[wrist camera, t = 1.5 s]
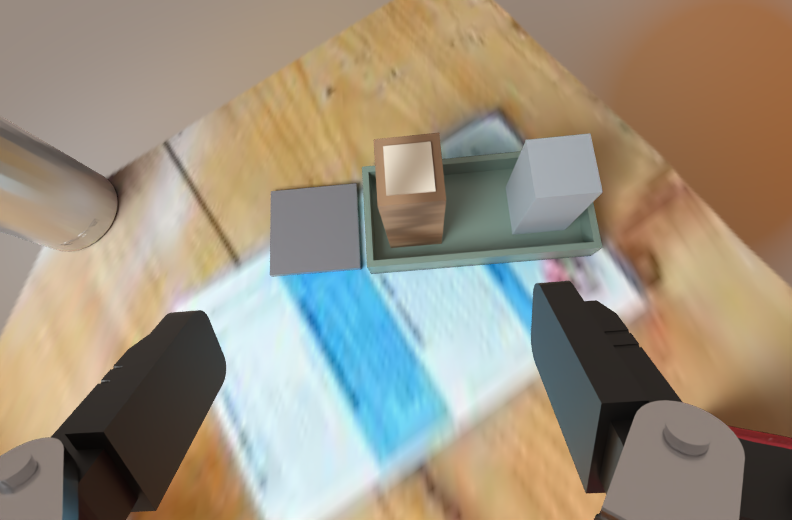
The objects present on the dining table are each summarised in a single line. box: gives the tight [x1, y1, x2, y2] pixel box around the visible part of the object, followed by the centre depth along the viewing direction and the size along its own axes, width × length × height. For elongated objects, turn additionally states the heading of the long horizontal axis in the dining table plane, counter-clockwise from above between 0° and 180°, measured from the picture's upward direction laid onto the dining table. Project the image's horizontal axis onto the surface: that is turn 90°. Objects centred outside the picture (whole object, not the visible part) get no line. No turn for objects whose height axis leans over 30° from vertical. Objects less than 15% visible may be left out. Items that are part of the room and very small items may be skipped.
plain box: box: [506, 134, 603, 235], centre depth 36 cm, size 5×5×9 cm
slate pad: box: [270, 183, 361, 277], centre depth 42 cm, size 9×9×1 cm
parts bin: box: [362, 151, 602, 274], centre depth 40 cm, size 21×10×3 cm, turn 94°
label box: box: [374, 133, 446, 248], centre depth 36 cm, size 5×6×11 cm
